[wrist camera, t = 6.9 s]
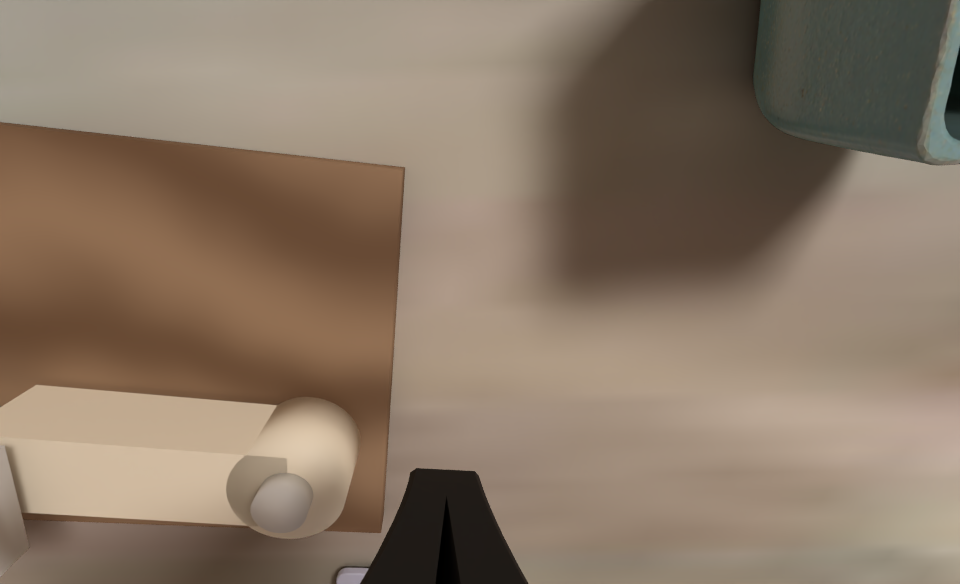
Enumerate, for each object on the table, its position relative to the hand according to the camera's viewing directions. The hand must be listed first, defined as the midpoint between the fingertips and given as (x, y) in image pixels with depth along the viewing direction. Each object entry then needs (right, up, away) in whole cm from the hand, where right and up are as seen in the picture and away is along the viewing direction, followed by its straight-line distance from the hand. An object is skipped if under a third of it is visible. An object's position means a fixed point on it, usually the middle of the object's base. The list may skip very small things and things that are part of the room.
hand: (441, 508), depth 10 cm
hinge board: (-12, +2, +9) cm, 15 cm away
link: (-10, -1, +9) cm, 13 cm away
